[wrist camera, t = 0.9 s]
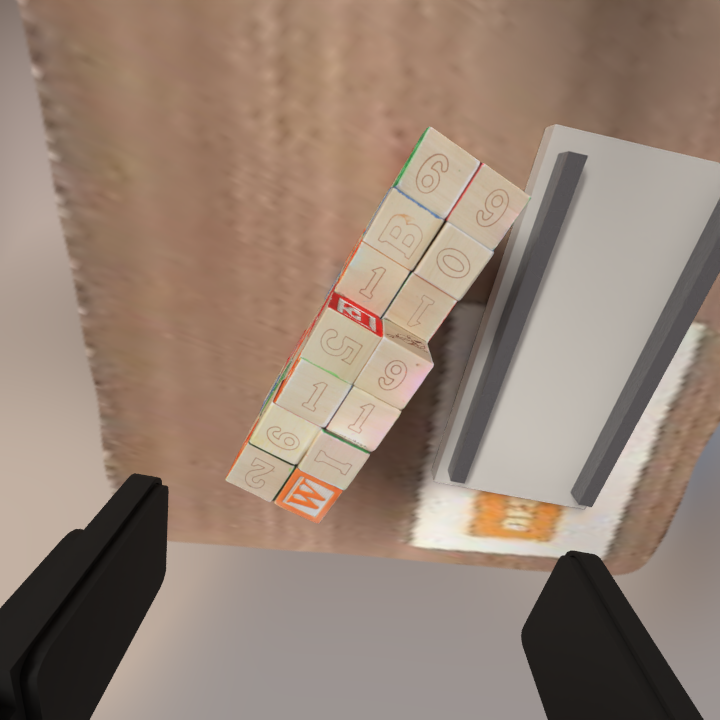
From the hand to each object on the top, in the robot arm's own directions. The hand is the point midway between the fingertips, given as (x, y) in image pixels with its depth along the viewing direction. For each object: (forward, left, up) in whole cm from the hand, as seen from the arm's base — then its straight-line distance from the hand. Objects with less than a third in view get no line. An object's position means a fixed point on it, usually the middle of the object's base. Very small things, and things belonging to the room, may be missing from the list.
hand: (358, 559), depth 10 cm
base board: (0, +16, -24) cm, 28 cm away
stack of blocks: (0, 0, -24) cm, 24 cm away
